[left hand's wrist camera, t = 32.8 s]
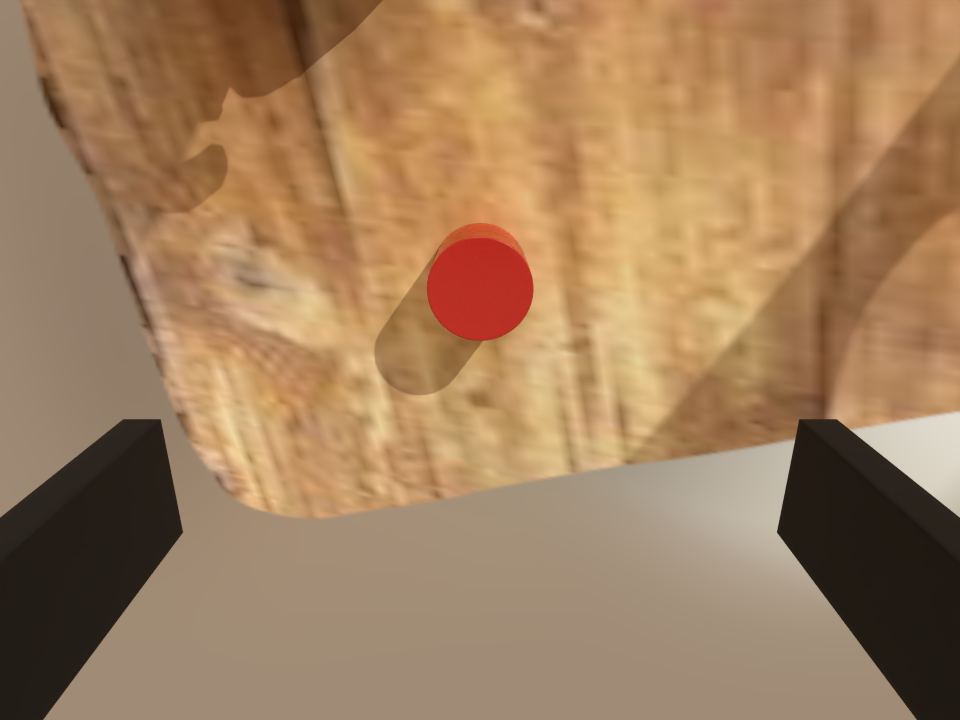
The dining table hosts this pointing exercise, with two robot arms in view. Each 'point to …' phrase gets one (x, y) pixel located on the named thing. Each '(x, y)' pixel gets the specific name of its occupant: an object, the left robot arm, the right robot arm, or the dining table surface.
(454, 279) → the tin
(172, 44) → the dining table surface
